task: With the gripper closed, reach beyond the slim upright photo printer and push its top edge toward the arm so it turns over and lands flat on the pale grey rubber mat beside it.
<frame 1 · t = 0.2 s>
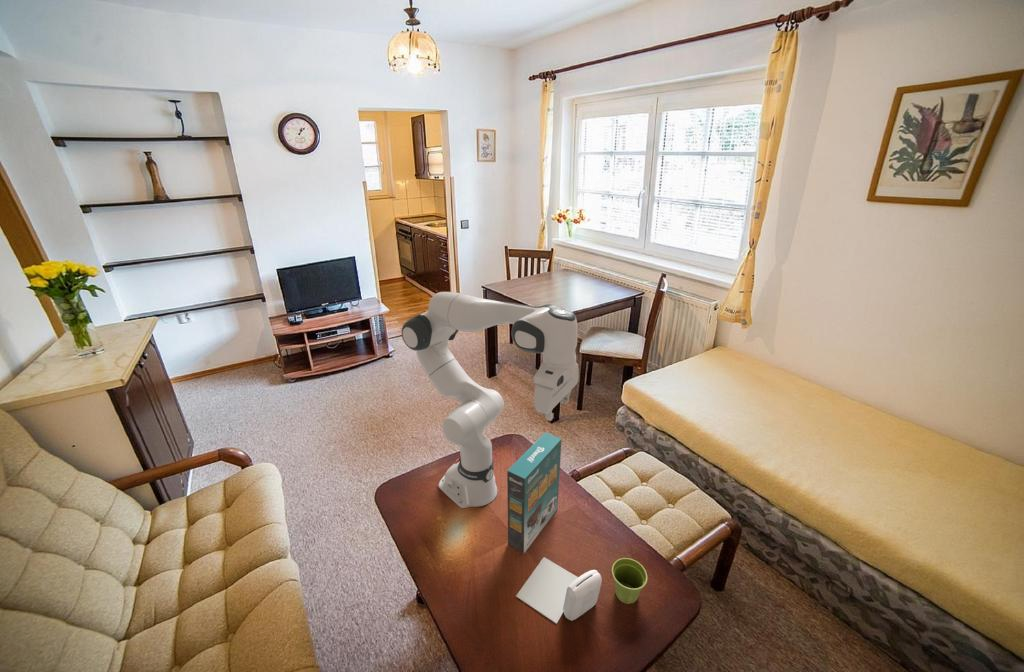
hand: (557, 410, 117), 48 cm above the table, fingers open, 8 cm apart
mat: (549, 588, 119), on the table
plant pot: (626, 594, 118), on the table
cake mix box: (533, 526, 139), on the table
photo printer: (579, 607, 114), on the table, touching mat
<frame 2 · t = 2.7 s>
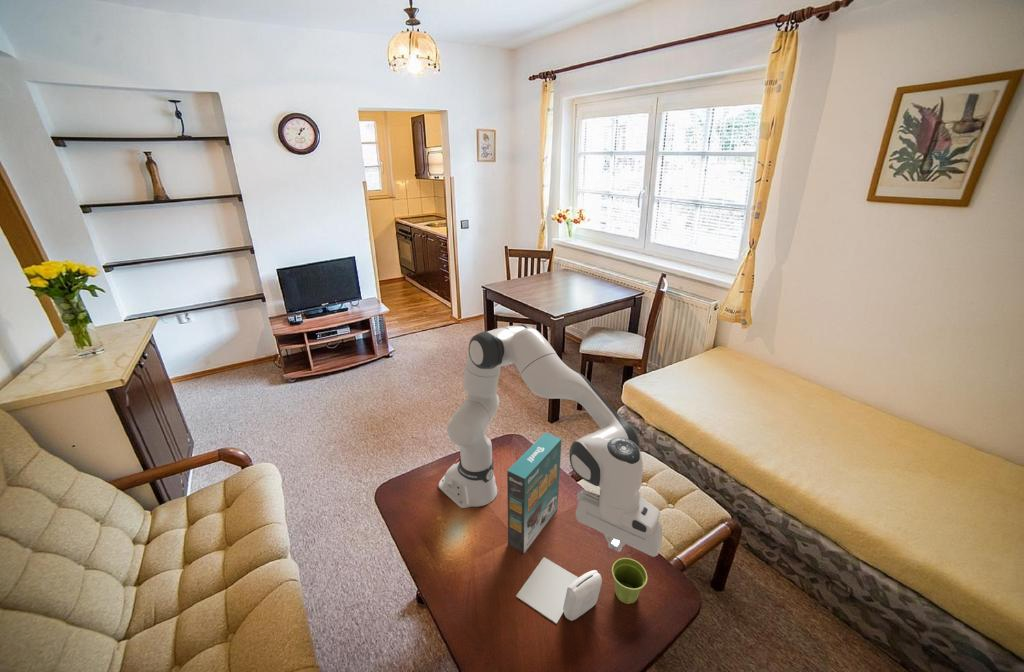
hand: (615, 547, 101), 27 cm above the table, fingers closed
nothing on the table moved.
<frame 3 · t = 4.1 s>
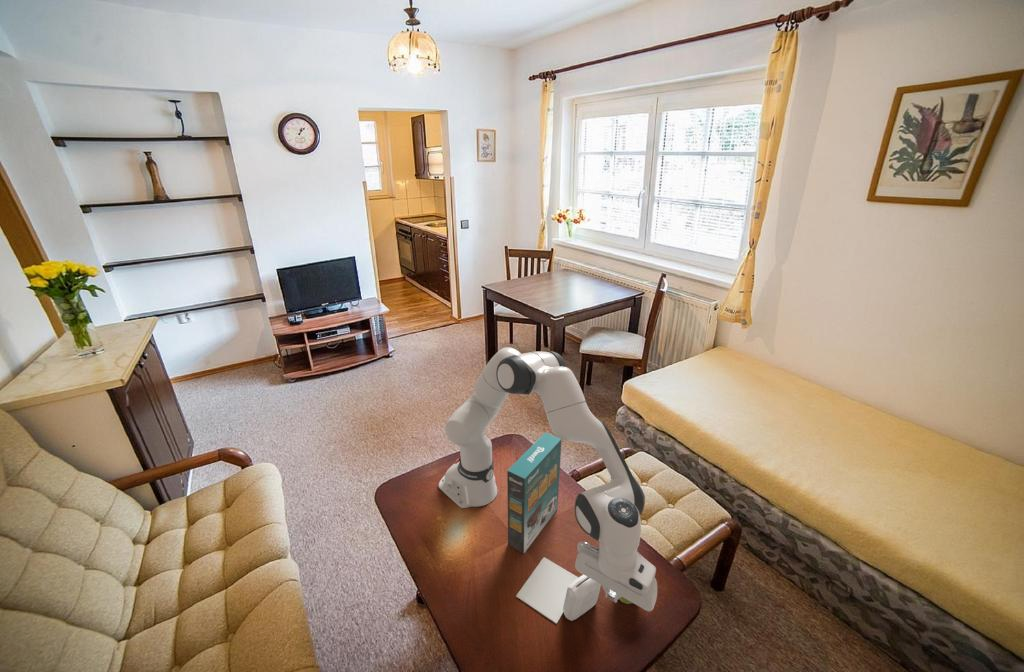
hand: (611, 597, 106), 11 cm above the table, fingers closed
nothing on the table moved.
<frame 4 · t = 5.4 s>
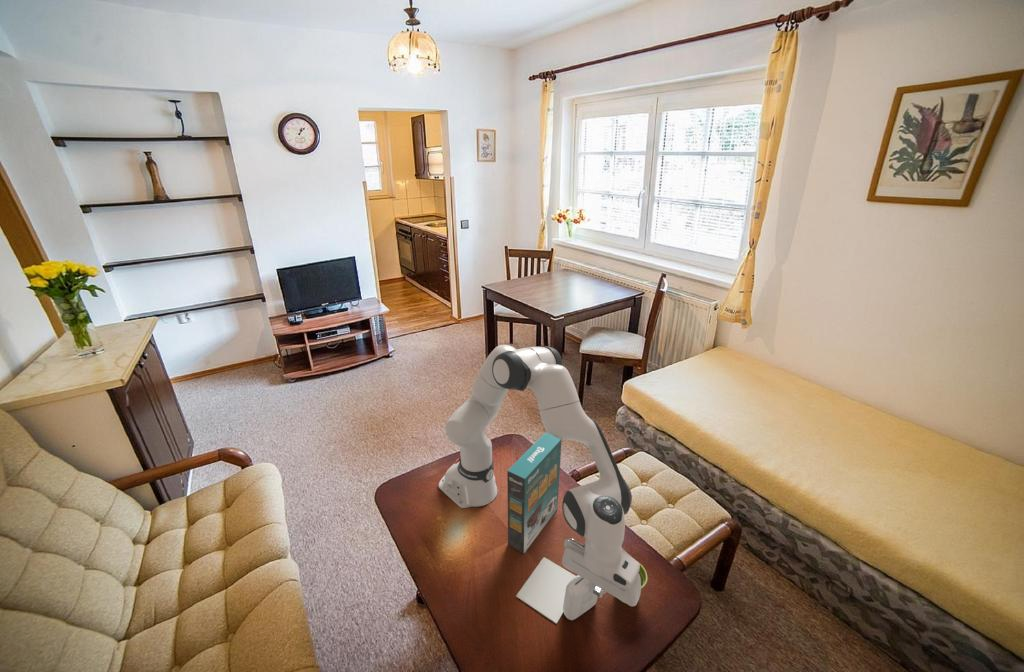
hand: (597, 593, 108), 9 cm above the table, fingers closed
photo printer: (579, 607, 114), on the table, touching gripper, mat
everything else where it was.
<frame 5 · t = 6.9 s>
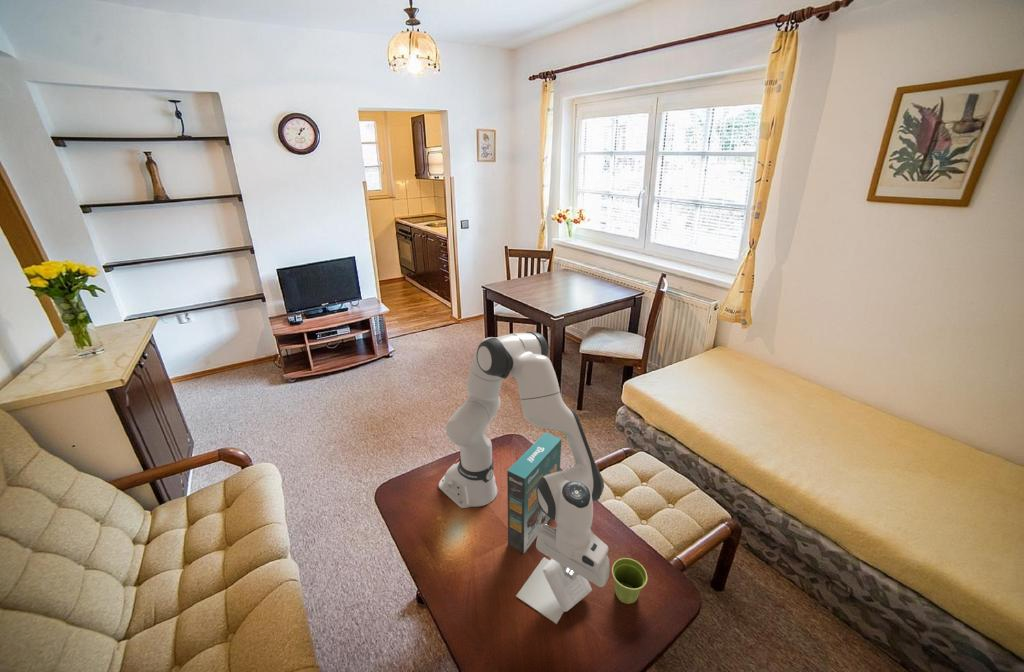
hand: (569, 575, 112), 10 cm above the table, fingers closed
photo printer: (578, 601, 114), point 2 cm above the table, touching gripper, mat
everything else where it was.
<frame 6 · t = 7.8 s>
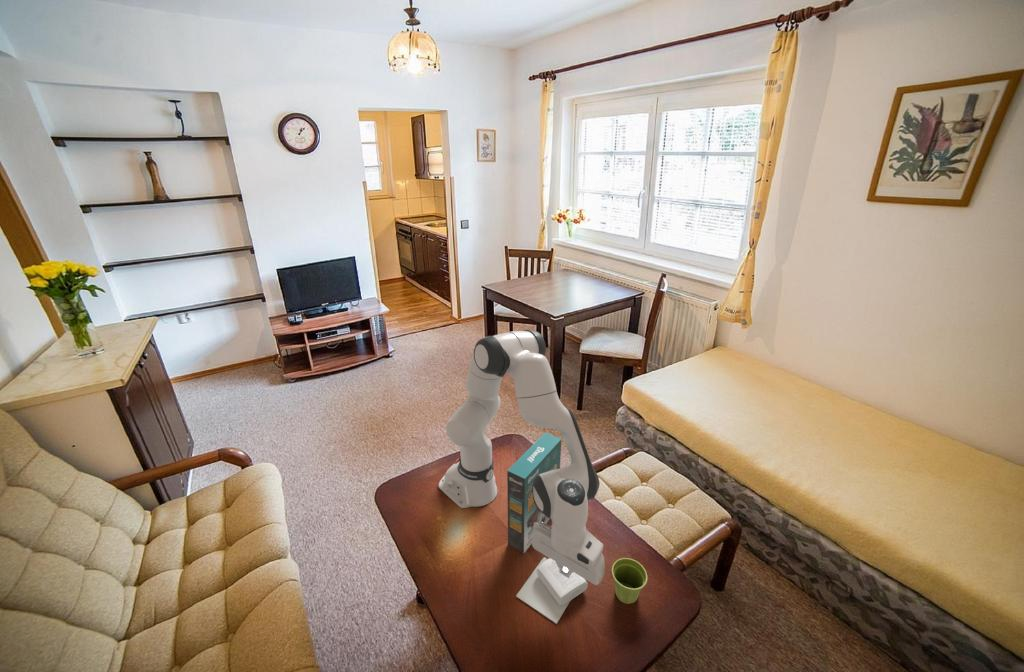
hand: (565, 573, 113), 10 cm above the table, fingers closed
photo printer: (574, 595, 115), point 3 cm above the table, touching mat
everything else where it was.
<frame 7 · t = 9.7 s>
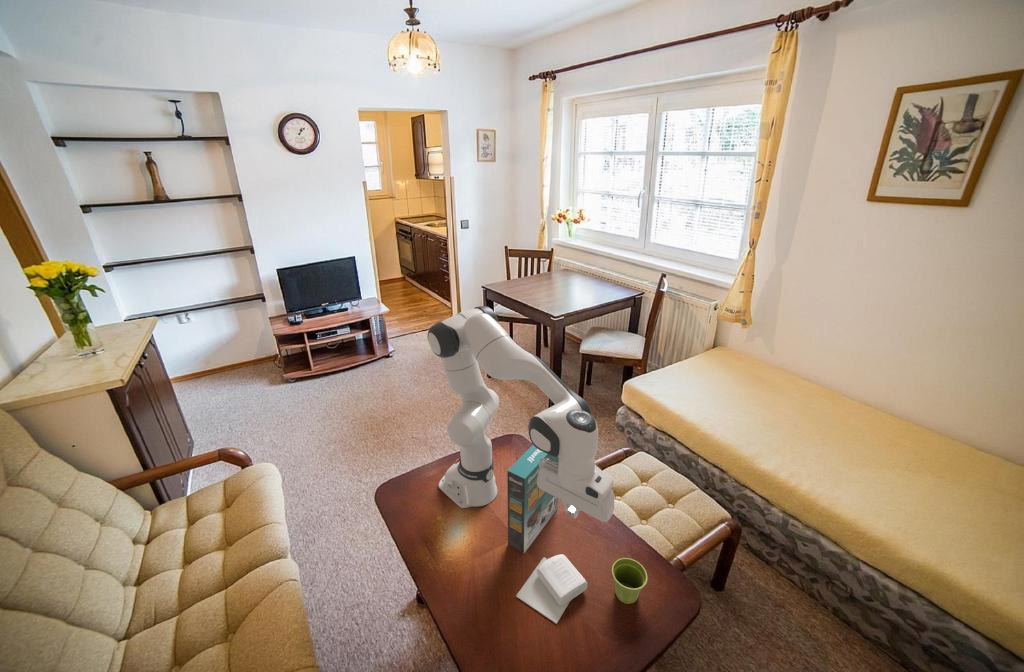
hand: (571, 514, 107), 29 cm above the table, fingers closed
nothing on the table moved.
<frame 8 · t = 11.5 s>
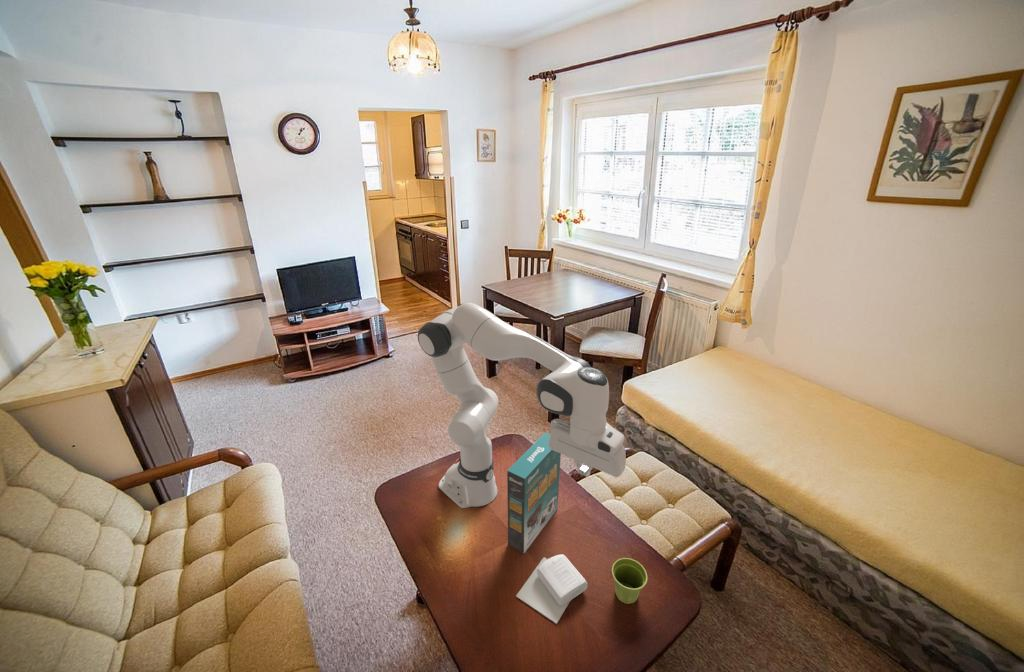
hand: (583, 473, 109), 37 cm above the table, fingers closed
nothing on the table moved.
at the end: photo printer tilted 91°; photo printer 7.5 cm from the mat (horizontally); the gripper is holding nothing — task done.
